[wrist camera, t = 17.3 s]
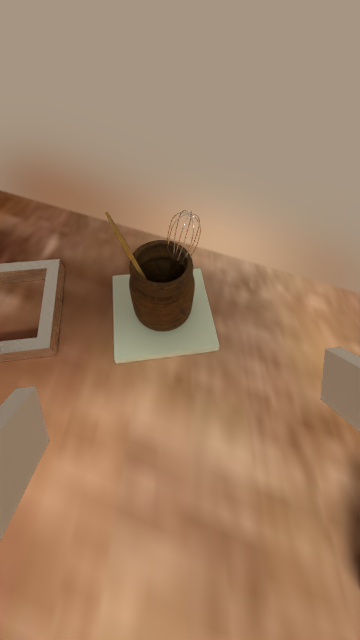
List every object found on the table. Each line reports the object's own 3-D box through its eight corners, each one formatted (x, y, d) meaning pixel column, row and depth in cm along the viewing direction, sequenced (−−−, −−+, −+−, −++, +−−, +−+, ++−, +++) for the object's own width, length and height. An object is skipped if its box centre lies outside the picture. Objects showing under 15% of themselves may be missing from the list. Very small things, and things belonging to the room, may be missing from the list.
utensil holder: (201, 321, 26) (224, 223, 15) (143, 344, 24) (124, 253, 14) (177, 279, 28) (183, 171, 18) (123, 297, 27) (94, 190, 16)
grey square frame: (-66, 369, 23) (-83, 363, 22) (-34, 278, 28) (-46, 267, 27) (57, 355, 24) (49, 347, 23) (65, 269, 30) (59, 258, 28)
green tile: (116, 363, 24) (114, 359, 23) (114, 281, 29) (112, 275, 28) (218, 350, 25) (219, 346, 24) (199, 273, 30) (200, 268, 29)
